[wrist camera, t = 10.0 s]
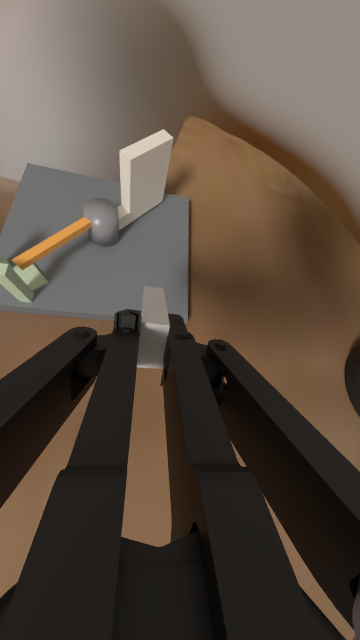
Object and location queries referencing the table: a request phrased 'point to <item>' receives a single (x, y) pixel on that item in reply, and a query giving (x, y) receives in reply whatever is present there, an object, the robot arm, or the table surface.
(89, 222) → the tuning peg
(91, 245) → the lever toy board
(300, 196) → the table surface
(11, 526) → the table surface
